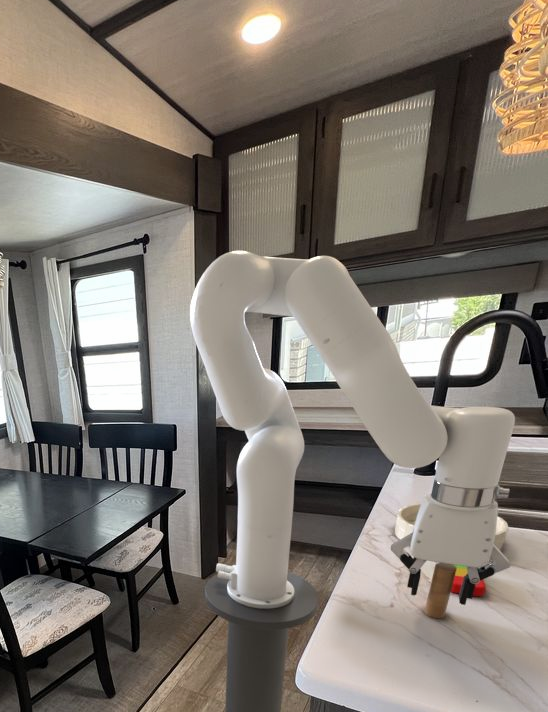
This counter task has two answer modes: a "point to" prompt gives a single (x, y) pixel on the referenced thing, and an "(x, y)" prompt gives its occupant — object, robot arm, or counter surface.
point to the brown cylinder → (440, 590)
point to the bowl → (409, 516)
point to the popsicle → (458, 581)
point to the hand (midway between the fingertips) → (437, 595)
